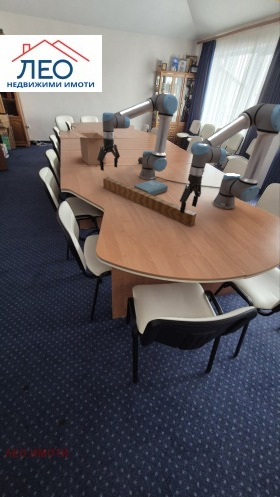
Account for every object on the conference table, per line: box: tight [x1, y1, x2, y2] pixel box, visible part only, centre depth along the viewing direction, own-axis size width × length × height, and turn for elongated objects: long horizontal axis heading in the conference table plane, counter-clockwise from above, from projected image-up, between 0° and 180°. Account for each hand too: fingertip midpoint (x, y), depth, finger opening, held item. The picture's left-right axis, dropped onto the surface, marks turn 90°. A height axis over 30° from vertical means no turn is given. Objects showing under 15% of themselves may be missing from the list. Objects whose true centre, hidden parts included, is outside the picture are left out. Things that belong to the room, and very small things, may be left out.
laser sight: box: [137, 156, 143, 165], centre depth 237 cm, size 10×22×10 cm, turn 78°
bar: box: [102, 176, 198, 228], centre depth 157 cm, size 83×4×8 cm, turn 48°
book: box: [133, 179, 169, 196], centre depth 177 cm, size 23×16×5 cm
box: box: [70, 129, 107, 166], centre depth 229 cm, size 44×36×27 cm
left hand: (109, 168), depth 169 cm, fingers open, 13 cm apart
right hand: (188, 209), depth 135 cm, fingers open, 13 cm apart
